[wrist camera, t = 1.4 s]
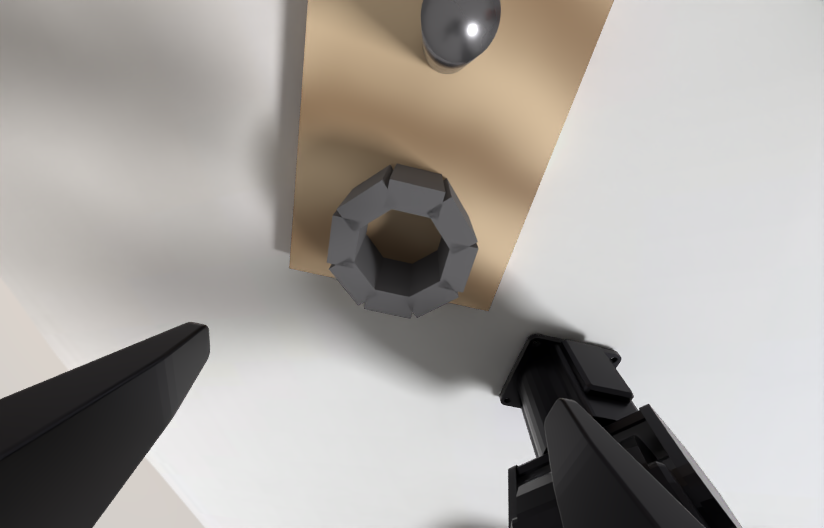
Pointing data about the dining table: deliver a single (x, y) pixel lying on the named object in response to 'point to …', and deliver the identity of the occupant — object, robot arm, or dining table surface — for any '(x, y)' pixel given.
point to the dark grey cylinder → (457, 31)
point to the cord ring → (390, 279)
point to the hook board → (434, 123)
